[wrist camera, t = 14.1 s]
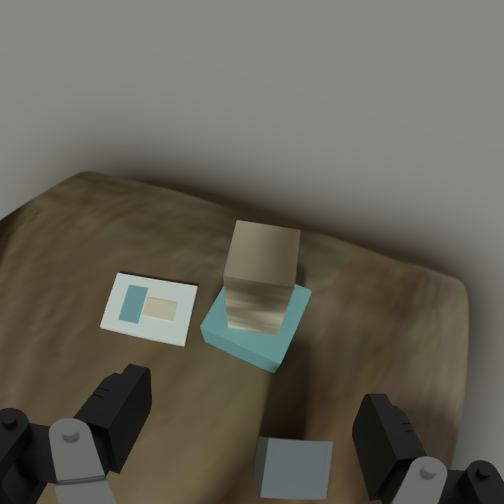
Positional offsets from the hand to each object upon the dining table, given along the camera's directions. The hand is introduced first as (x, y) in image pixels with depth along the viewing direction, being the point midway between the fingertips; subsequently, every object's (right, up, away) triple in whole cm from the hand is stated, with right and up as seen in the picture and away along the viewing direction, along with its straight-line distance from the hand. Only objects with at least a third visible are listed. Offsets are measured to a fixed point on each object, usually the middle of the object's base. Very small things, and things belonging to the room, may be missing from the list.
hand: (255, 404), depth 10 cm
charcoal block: (+3, -15, +15) cm, 21 cm away
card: (-12, -1, +23) cm, 26 cm away
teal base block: (0, -3, +23) cm, 23 cm away
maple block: (0, 0, +19) cm, 19 cm away
